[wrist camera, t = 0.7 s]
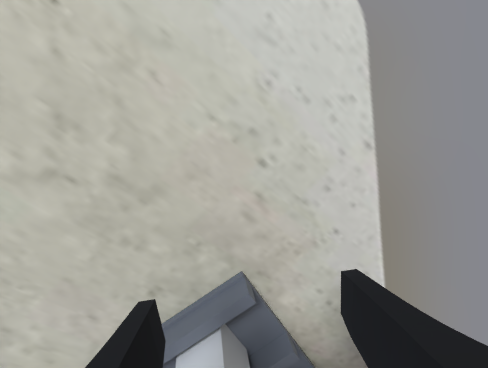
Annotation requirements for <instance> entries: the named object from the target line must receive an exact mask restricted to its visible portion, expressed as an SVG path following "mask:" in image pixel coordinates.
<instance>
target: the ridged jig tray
mask: <svg viewBox="0 0 488 368" xmlns="http://www.w3.org/2000/svg"><path fill="white" fill-rule="evenodd" d="M224 324H226V326H227V327H228V328H229V329H230V330H231V331H232V333H233V334H234V335H235V336H236V337H237V339H238V340H239V341H240V342H241V343H242V344H243V346H244V347H245V348H246V349H247V354H248V359H249V365H250V368H315V367H314V365H313V364H312V363H311V361H310V360H309V359H308V358H307V356H306V355H305V354H304V352H303V351H302V350H301V348H300V347H299V346H298V344H297V343H296V342H295V340H294V339H293V338H292V336H291V335H290V334H289V333H288V331H287V330H286V329H285V327H284V326H283V325H282V323H281V322H280V321H279V319H278V318H277V317H276V315H275V314H274V313H273V312H272V310H271V309H270V308H269V306H268V305H267V304H266V302H265V301H264V300H263V298H262V297H261V296H260V294H259V293H258V292H257V291H256V289H255V288H254V287H253V285H252V284H251V283H250V281H249V280H248V279H247V277H246V276H245V275H244V273H243V272H242V271H241V272H240V273H238V274H237V275H235V276H234V277H232V278H231V279H229V280H228V281H226V282H225V283H223V284H222V285H220V286H219V287H217V288H216V289H214V290H213V291H211V292H209V293H208V294H206V295H205V296H203V297H202V298H200V299H199V300H197V301H196V302H194V303H193V304H191V305H190V306H188V307H187V308H185V309H184V310H182V311H181V312H179V313H178V314H176V315H175V316H173V317H172V318H170V319H169V320H167V321H166V322H164V323H162V328H163V332H164V336H165V340H166V343H165V353H164V362H163V368H176V358H177V355H178V354H180V353H181V352H183V351H184V350H186V349H187V348H189V347H190V346H192V345H193V344H195V343H196V342H198V341H199V340H201V339H202V338H204V337H205V336H207V335H208V334H210V333H212V332H213V331H215V330H216V329H218V328H219V327H221V326H222V325H224Z"/></svg>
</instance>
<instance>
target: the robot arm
mask: <svg viewBox="0 0 488 368" xmlns="http://www.w3.org/2000/svg"><path fill="white" fill-rule="evenodd" d="M341 315H342V317H343V320H344V322H345V324H346V327H347V329H348V331H349V334H350V336H351V338H352V340H353V342H354V344H355V345H356V347H357V349H358V351H359V352H360V354H361V356H362V358H363V360H364V361H365V363H366V365H367V366H368V368H488V346H486V345H484V344H482V343H480V342H478V341H476V340H474V339H472V338H470V337H468V336H466V335H464V334H462V333H460V332H458V331H456V330H454V329H452V328H450V327H448V326H446V325H445V324H443V323H441V322H439V321H437V320H436V319H434V318H432V317H430V316H429V315H427V314H425V313H423V312H422V311H420V310H418V309H417V308H415V307H413V306H412V305H410V304H409V303H407V302H405V301H404V300H402V299H401V298H399V297H398V296H396V295H395V294H393V293H391V292H390V291H388V290H387V289H385V288H384V287H382V286H381V285H380V284H378V283H377V282H375V281H374V280H372V279H371V278H369V277H368V276H366V275H365V274H363V273H362V272H360V271H359V270H357V269H354V270H347V271H341ZM165 343H166V340H165V336H164V332H163V328H162V324H161V321H160V317H159V313H158V309H157V305H156V301H155V299H154V300H147V301H141V302H138V303H137V305H136V306H135V307H134V308H133V310H132V311H131V312H130V313H129V315H128V316H127V317H126V319H125V320H124V321H123V322H122V324H121V325H120V326H119V328H118V329H117V330H116V331H115V333H114V334H113V335H112V336H111V338H110V339H109V340H108V341H107V342H106V344H105V345H104V346H103V347H102V349H101V350H100V351H99V352H98V353H97V355H96V356H95V357H94V358H93V359H92V360H91V362H90V363H89V364H88V365H87V366H86V367H85V368H163V362H164V353H165Z"/></svg>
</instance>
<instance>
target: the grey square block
mask: <svg viewBox="0 0 488 368" xmlns="http://www.w3.org/2000/svg"><path fill="white" fill-rule="evenodd" d="M176 368H250V365H249V359H248V354H247V349H246V348H245V347H244V346H243V344H242V343H241V342H240V341H239V340H238V339H237V337H236V336H235V335H234V334H233V333H232V331H231V330H230V329H229V328H228V327H227V326H226V324H224V325H222V326H221V327H219V328H218V329H216V330H215V331H213V332H212V333H210V334H208V335H207V336H205V337H204V338H202V339H201V340H199V341H198V342H196V343H195V344H193V345H192V346H190V347H189V348H187V349H186V350H184V351H183V352H181V353H180V354H178V355H177V358H176Z"/></svg>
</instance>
